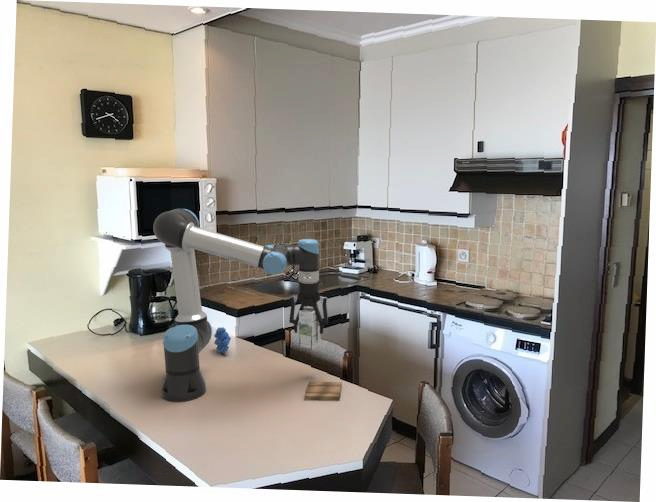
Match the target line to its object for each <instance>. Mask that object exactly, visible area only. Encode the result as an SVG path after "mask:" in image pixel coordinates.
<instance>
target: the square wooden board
mask: <svg viewBox="0 0 656 502" xmlns="http://www.w3.org/2000/svg"><path fill="white" fill-rule="evenodd" d="M342 386H343V383H342V381H308V384H307V387H306V390H305V393H304V395H303V396H304V401H329V402H330V401H331V402H332V401H333V402H334V401H337V402H339V401H341V393H342Z"/></svg>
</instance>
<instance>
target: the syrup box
mask: <svg viewBox="0 0 656 502" xmlns="http://www.w3.org/2000/svg"><path fill="white" fill-rule="evenodd" d="M298 312H299V321H298V323H299V342H298V345H299V346H298V348H300V349H306V350H314V349H316V348H317V347H318V346H320V345H319V344H320V343H318V324H319V322H318V319H317V316H316V314H315V310H314V309H313V307H309V306H307V307H304V308H303V310H299V309H298Z"/></svg>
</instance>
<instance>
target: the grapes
mask: <svg viewBox="0 0 656 502" xmlns="http://www.w3.org/2000/svg"><path fill="white" fill-rule="evenodd" d="M213 336H214V338H215V340H214V343H213V344H215V346H216V350H217V351H218V352H219V353H221V355H222V354H223V355H224V354H225V353H226V352H227V351H228V350H229V345H230V342H231V338H232V337H231V336H230V335H229V333H228V332H227V330H226V328H225V327H222V326H221V327H217V329H215V333H214V335H213Z"/></svg>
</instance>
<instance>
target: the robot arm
mask: <svg viewBox="0 0 656 502" xmlns="http://www.w3.org/2000/svg"><path fill="white" fill-rule="evenodd" d="M152 228H153V233H154V235H155V237H156V238H157V240H158V241H159V242H161V243H162V244H164V247H165V249H167V250H168V251H169V252H170V260H171V266H172V267H171V268H172V273H173V281H174V288H175V296H176V304H177V311H178V314H177V316H176V317H175V320H174V322H175V326H173V327H170V328H169V329H166V331H164V333H163V339H162V340H163V341H162V345H163V352H164V353H163V354H164V363H165V365H164V367H165V375H164V381H163V384H162V388H161V396H162V398H164V399H165V400H167V401H170V402H186V401H191V400H196V399H198V398H200V397H201V396H202V395H204V394H205V393H206V391H207V384H206V381H205V379H204V377H203V374H202V372H201V368H200V366H201V365H200V353H201V352H202V351H203V349H204V348H205V347H207V345H208V344H209V343H210V341H211V338H212V335H213V327H212V324H211V323H210V321H208V315H207V313H206V312H204V311H203V309H202V301H201V292H200V285H199V277H198V269H197V268H198V267H197V262H196V261H197V260H196V253H195V250H196V251H199V252H203V253H206V254H210V255H214V256H217V257H220V258H224V259H227V260H231V261H235V262H238V263H241V264H245V265H247V266H250V267H251V266H252V267H255V268H259V269H261V270H264V271H265V272H266V273H267V274H269V275H273V276H275V275H279V274H281V273H282V272H284V271H285V270H286V268H287V267H288V266H295V267H296V266H297V267H298V281H299V282H298V294H297V295H291V297H290V299H289V300H290V303H291V304H290V311H289V312H290V313H289V324H293V326H294V327H293V328H294V329H293V330H294V333H295V334H296V337H297V338H296V339H297V340H296V341H297V343H299V310H303V308H305V307H309V308H313V309H314V310H315V314H316V316H317V319H318V322H319V324H318V343H319V344H321V343H320V342H321V335H322V334H323V333H324V325H328V323H329V315H328V307H327V306H328V305H327V300H328V297H327V296H321V294H320V282H319V281H320V247H319V246H320V243H319V241H318V240H317V239H313V238H307V239H306V238H305V239H304V238H303V239H299V240H298V242H297V244H294V245H293V244H292V245H291V244H268V245H266V246H263V245H260V244H256V243H253V242H250V241H246V240H243V239H239V238H236V237H233V236H229V235H226V234H222V233H219V232H216V231H213V230H208V229H206V228H202V227H200V222H199V219H198V217H197V216H196V214H195V213H194V212H192V211H191V210H190V209H186V208H175V209H171V210H169V211H165V212H162V213H160V214H159V215H158V216H157V217H156V218H155V220H154V222H153V227H152ZM297 301H299V303H300V306H299V309H298V312H297V315H296V317H295V311H296V309H295V308H296V302H297ZM318 301H320V302H321V303H322V305H321V306H322V314H323V317H322V315H321V312H320V309H319V307H318V306H319V305H318ZM294 318H295V319H294Z"/></svg>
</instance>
